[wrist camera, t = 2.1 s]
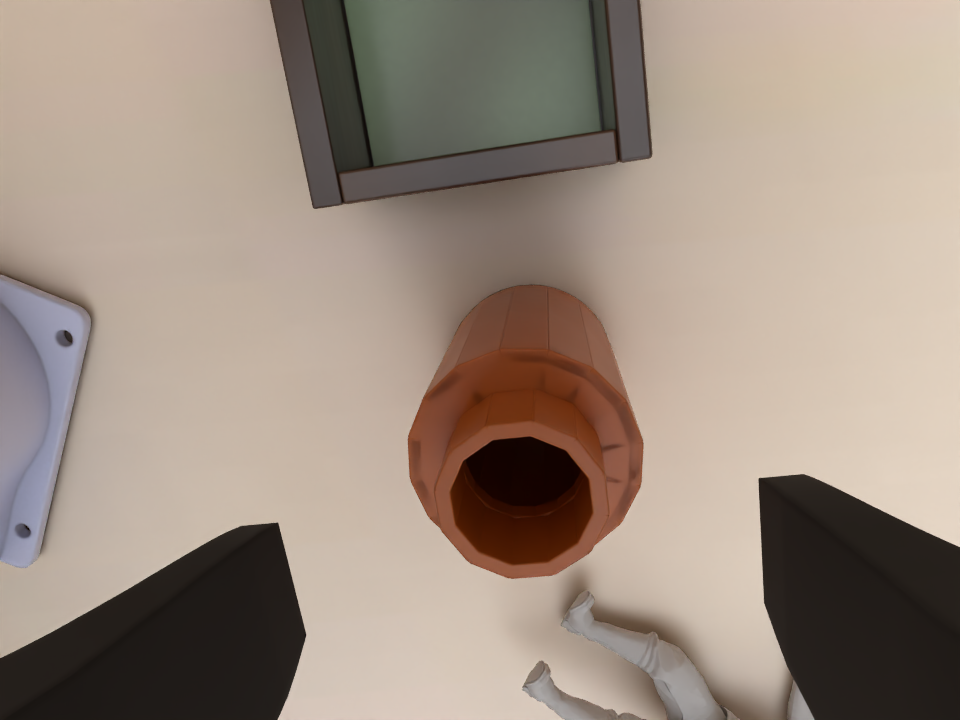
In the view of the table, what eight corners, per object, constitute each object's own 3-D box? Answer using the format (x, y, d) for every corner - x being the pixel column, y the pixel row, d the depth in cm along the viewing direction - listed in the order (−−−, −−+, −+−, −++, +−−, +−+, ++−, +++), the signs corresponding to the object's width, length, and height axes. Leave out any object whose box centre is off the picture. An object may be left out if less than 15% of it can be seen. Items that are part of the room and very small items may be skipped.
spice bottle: (572, 459, 21) (589, 652, 13) (429, 402, 21) (356, 560, 13) (638, 321, 20) (703, 439, 12) (486, 259, 20) (444, 334, 11)
